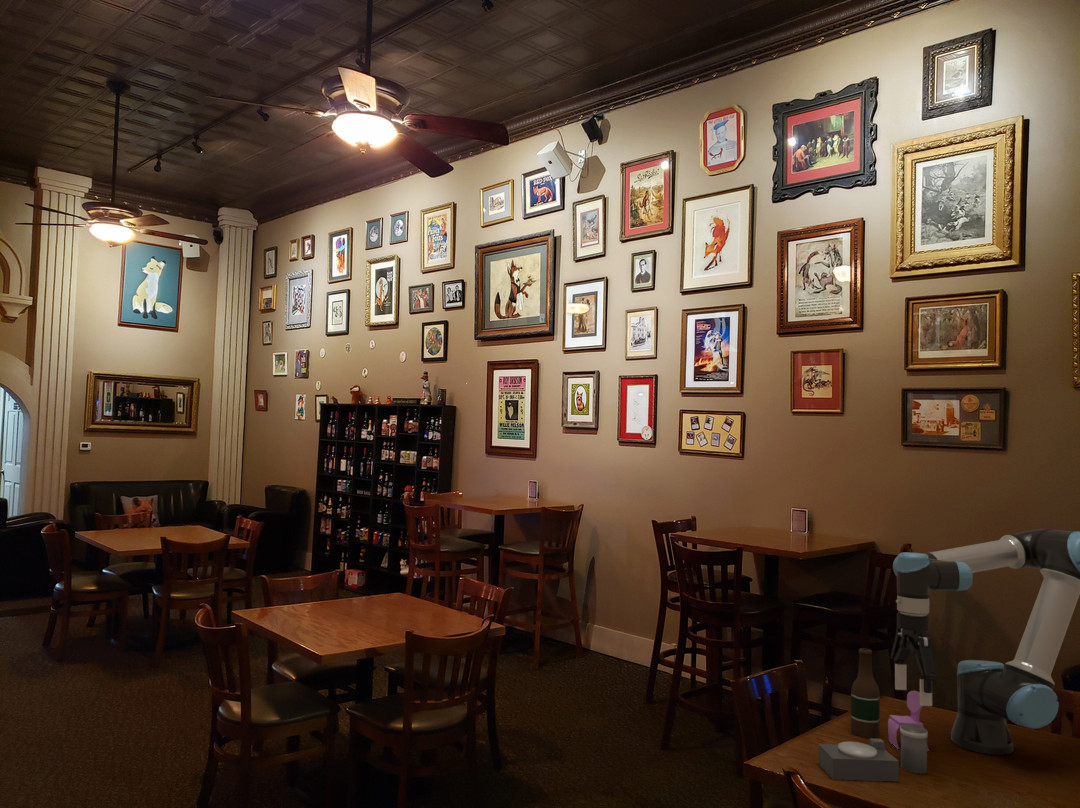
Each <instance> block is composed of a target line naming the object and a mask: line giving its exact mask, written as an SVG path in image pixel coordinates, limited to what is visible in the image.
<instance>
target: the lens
mask: <svg viewBox="0 0 1080 808" xmlns="http://www.w3.org/2000/svg"><path fill="white" fill-rule="evenodd" d="M899 733H900V768H901V767H902V768H903V769H902V768H901V769H902V770H904V769H905V770H904V771H906V770H908V771H911V772H910V773H912V772H914V773H913V774H918V773H920V774H921V773H923V774H926V773H927V772H928V751H927V746H928V744H927V743H928V735H929V734H928V730H927V729H926V728H925V727H924V728H922V727H919V726H915V725H902V726H900V728H899ZM908 771H907V772H908Z"/></svg>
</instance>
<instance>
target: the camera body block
mask: <svg viewBox="0 0 1080 808" xmlns="http://www.w3.org/2000/svg"><path fill="white" fill-rule="evenodd" d="M885 743H886V742H885V741H884V740H883V739H882V738H869V744H866V743H863V742H858V741H842V742H839V743H838V744H837V743H835V744H834V743H833V744H832V743H818V747H817V748H818V752H817V753H818V756H817V757H818V758H817V759H818V763H819V764H820V765H821V766H820V765H819V764H818V763H817V764H818V765H819V766H820V767H821V769H823V771H826V772H827V773H828V774H829V775H828V774H827V773H826V774H827V775H828V776H829V777H830V778H831V779H832V780H833V779H844V780H843V781H854V780H862V781H863V780H864V781H863V782H882V781H899V776H900V775H899V769H900V768H899V762H900V761H899V760H898V759H897V758H896V757H895V756H894V755H892V754H891V753H889V752H888V751H887V750H886V749H885V746H886V745H885ZM845 779H846V780H845ZM862 781H861V782H862Z"/></svg>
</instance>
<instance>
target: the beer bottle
mask: <svg viewBox="0 0 1080 808" xmlns="http://www.w3.org/2000/svg"><path fill="white" fill-rule="evenodd" d="M858 654H859V658H858V672H857V677H856V678H855V680H854V681H853V682H852V686H851V691H850V729H851V730H850V731H851V733H852V734H853V735H855V736H856V735H857V736H856V737H859V736H860V737H859V738H863V737H866V738H865V739H870V738H872V739H878V737H879V736H880V730H881V727H880V726H881V724H880V723H881V720H880V719H881V718H880V717H881V715H880V713H881V712H880V711H881V710H880V708H881V705H880V704H881V702H880V700H881V699H880V697H881V695H880V688H879V685H878V683H877V682H876V681H875V678H874V674H873V665H872V664H873V661H872V654H873V650H872V649H870V648H865V647H861V648H859V649H858Z"/></svg>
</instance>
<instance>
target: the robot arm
mask: <svg viewBox="0 0 1080 808" xmlns="http://www.w3.org/2000/svg"><path fill="white" fill-rule="evenodd" d="M1008 567H1009V568H1011V569H1023V568H1027V569H1028V568H1029V569H1038V570H1039V572H1040V574H1041V575H1042V577H1043V580H1042V583H1041V585H1040V589H1039V592H1038V593H1037V597H1036V599H1035V602H1034V604H1033V607H1032V610H1031V612H1030V615H1029V618H1028V621H1027V624H1026V626H1025V630H1024V632H1023V634H1022V636H1021V640H1020V642H1019V645H1018V648H1017V651H1016V653H1015V656H1014V658H1013V659H1012V660H1011V661H1007V662H1005V664H1004V663H1002V662H999V661H998V662H997V661H993V660H992V661H991V660H978V659H968V660H967V659H965V660H962V661H960V662H958V664H957V672H956V679H957V680H956V681H957V685H956V686H957V714H956V717H955V719H954V723H953V725H952V729H951V731H950V740H952V741H953V742H954V743H955V744H954V743H953V742H952V741H951V742H952V743H953V744H954V745H956V744H957V745H959V746H960V748H962V747H963V748H962V749H964V748H965V750H967V749H969V750H968V751H971V750H972V751H971V752H974V751H975V753H978V752H979V753H980V754H984V753H986V754H985V755H991V754H992V756H1005V755H1004V754H1007V755H1010V754H1009V753H1011V754H1013V753H1014V741H1013V739H1012V736H1011V732H1010V729H1009V727H1008V725H1007V721H1006V720H1008V721H1010V722H1012V723H1014V724H1016V725H1017V726H1021V727H1025V728H1028V729H1035V730H1036V729H1041V728H1043V727H1045V726H1048V725H1049V724H1051V723H1052V721H1054V719H1055V718H1056V716H1057V715H1058V714H1057V713H1058V711H1059V707H1060V705H1059V704H1060V703H1059V701H1058V695H1057V694H1056V692H1055V691H1054V688H1055V685H1056V684H1055V681H1054V680H1053V678H1052V672H1053V669H1054V666H1055V664H1056V661H1057V658H1058V655H1059V654H1060V653H1059V652H1060V650H1061V647H1062V644H1063V641H1064V639H1065V637H1066V633H1067V631H1068V628H1069V625H1070V622H1071V620H1072V617H1073V613H1074V611H1075V608H1076V605H1077V602H1078V600H1079V598H1080V531H1079V530H1078V531H1070V530H1062V529H1052V528H1038V529H1031V530H1025V531H1021V532H1020V531H1019V532H1016V533H1010V534H1006V535H1003V536H1002V537H1000V539H999V540H998V539H997V540H992V541H988V542H987V541H986V542H983V543H975V544H969V545H965V546H964V545H963V546H960V547H953V548H947V549H943V550H937V551H936V550H935V551H931V552H925V553H920V552H908V551H907V552H900V553H899V554H898V555H897V556H896V557H895V559H894V560H893V563H892V571H893V573H894V575H895V576H896V593H897V594H896V595H897V596H896V599H895V604H896V610H897V611H898V612H897V613H896V628H895V630H896V631H895V637H894V640H893V644H892V648H891V653H890V659H891V660H893V664H894V689H895V690H896V691H900V690H901V691H907V664H908V662H907V659H908V657H909V655H910V653H911V654H913V655H914V657H915V661H916V664H917V667H918V670H919V673H920V676H919V677H918V678H919V692H920V705H921V706H922V707H925V706H926V707H932V706H933V681H934V680H937V679H938V672H937V667H936V663H935V658H934V654H933V650H932V641H931V640H932V639H931V638H930V637H925V636H924V632H927V631H929V629H930V617H929V615H928V614H930V591H946V592H947V591H951V592H952V591H953V592H959V591H967V590H969V589H970V587H972V585H973V577H974V573H978V572H979V573H980V572H985V571H991V570H996V569H1001V568H1008ZM957 745H956V746H957ZM959 746H958V747H959ZM1012 752H1013V753H1012Z"/></svg>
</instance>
